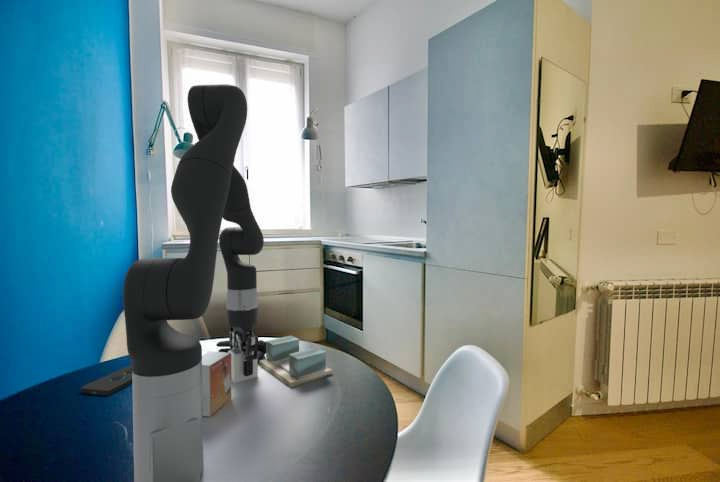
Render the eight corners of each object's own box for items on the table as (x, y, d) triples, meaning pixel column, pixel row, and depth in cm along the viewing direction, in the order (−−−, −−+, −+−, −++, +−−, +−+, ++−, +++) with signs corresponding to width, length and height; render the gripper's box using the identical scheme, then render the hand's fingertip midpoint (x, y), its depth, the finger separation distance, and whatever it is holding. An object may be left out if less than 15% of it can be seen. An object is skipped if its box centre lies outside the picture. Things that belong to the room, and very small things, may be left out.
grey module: (257, 376, 89) (257, 348, 88) (234, 383, 85) (233, 353, 85) (251, 371, 92) (251, 344, 91) (228, 378, 88) (228, 349, 88)
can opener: (273, 356, 103) (273, 338, 103) (258, 365, 97) (258, 345, 96) (226, 349, 110) (226, 331, 109) (209, 357, 103) (209, 338, 103)
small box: (210, 418, 69) (209, 366, 69) (185, 415, 70) (184, 363, 70) (232, 398, 77) (232, 352, 77) (210, 396, 78) (209, 350, 78)
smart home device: (78, 387, 80) (148, 356, 100) (79, 394, 80) (148, 362, 100) (108, 390, 78) (173, 358, 98) (108, 398, 78) (173, 364, 98)
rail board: (332, 374, 90) (331, 350, 90) (290, 387, 82) (290, 361, 82) (297, 354, 104) (297, 334, 104) (259, 364, 96) (259, 342, 96)
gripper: (218, 303, 91) (218, 366, 91) (238, 313, 80) (239, 385, 80) (246, 299, 96) (246, 359, 96) (268, 308, 85) (269, 376, 85)
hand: (243, 370), depth 88 cm, fingers open, 6 cm apart
